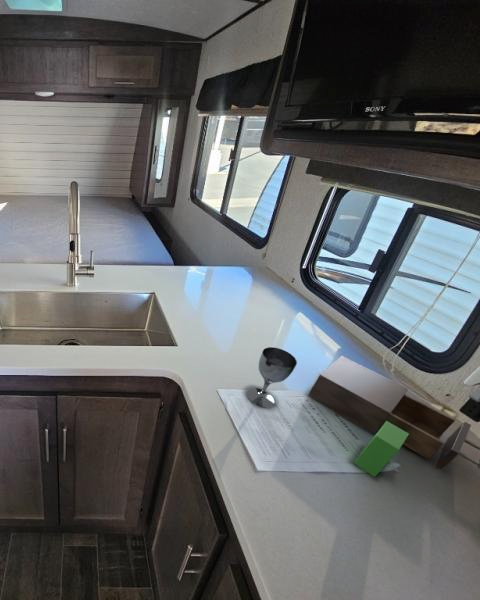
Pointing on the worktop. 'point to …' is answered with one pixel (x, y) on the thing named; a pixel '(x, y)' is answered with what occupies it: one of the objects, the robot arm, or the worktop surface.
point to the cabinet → (357, 393)
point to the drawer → (429, 431)
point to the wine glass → (271, 374)
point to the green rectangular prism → (381, 448)
